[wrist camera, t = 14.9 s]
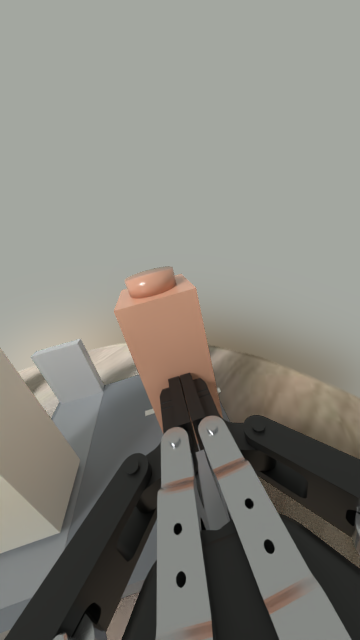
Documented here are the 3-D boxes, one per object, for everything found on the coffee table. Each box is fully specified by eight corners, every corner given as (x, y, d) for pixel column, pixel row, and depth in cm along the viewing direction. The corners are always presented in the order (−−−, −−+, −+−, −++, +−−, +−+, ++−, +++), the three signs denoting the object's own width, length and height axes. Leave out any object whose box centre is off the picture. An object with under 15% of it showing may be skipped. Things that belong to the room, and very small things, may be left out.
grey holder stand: (-52, 663, 10) (-223, 617, 7) (65, 405, 26) (31, 352, 22) (289, 535, 11) (287, 441, 8) (204, 362, 27) (191, 306, 23)
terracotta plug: (170, 452, 15) (106, 293, 10) (164, 407, 19) (116, 276, 14) (226, 434, 16) (192, 269, 10) (208, 393, 20) (178, 260, 14)
